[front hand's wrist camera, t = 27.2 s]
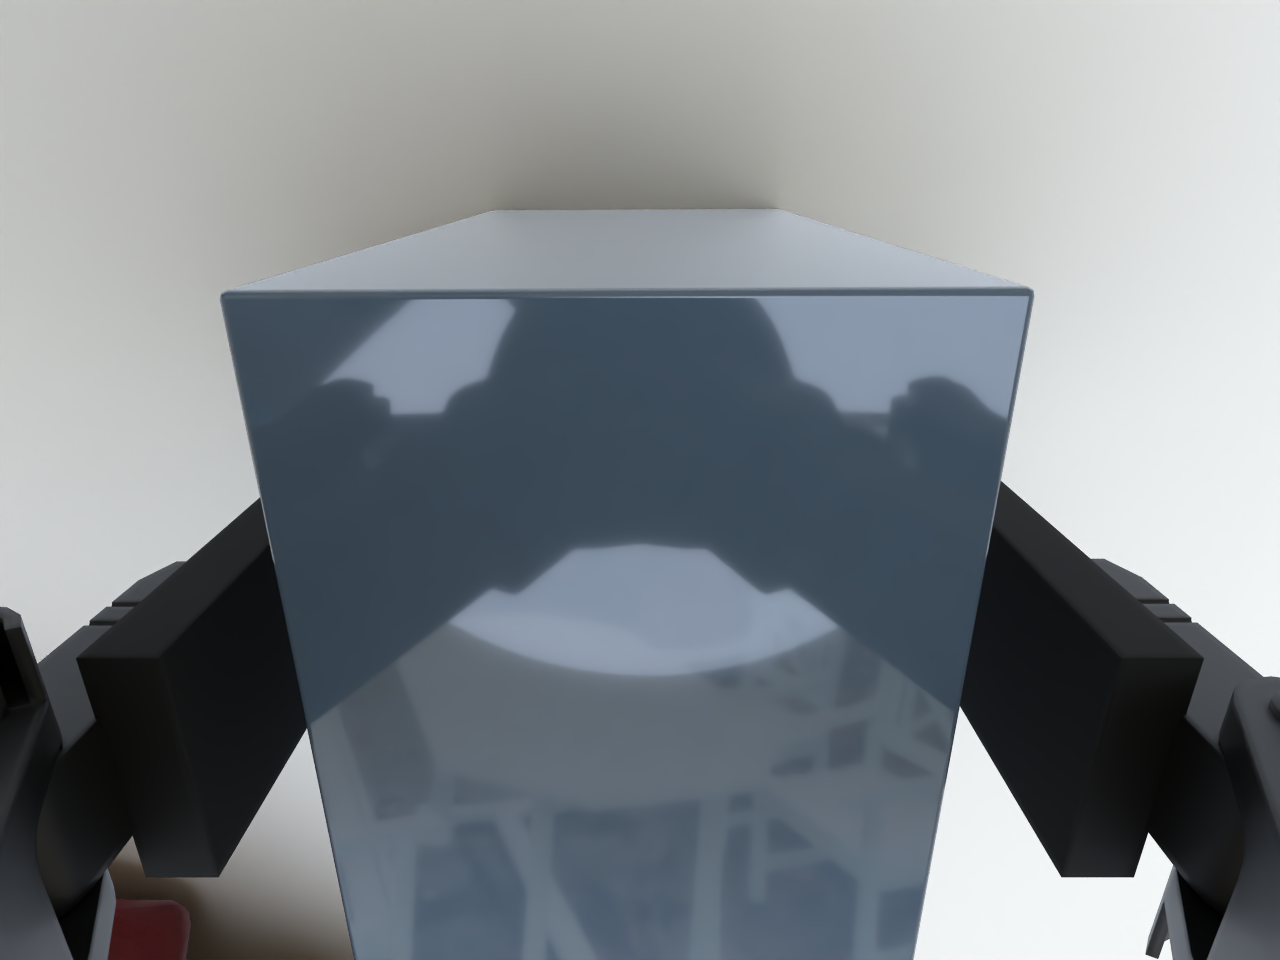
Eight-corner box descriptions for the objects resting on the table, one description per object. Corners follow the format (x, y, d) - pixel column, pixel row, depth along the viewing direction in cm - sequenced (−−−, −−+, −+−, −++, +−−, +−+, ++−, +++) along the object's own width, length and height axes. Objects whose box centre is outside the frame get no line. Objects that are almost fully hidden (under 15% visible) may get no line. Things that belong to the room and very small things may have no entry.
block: (758, 582, 20) (895, 1069, 9) (517, 583, 20) (374, 1071, 9) (780, 208, 17) (1039, 287, 6) (490, 210, 17) (214, 291, 6)
